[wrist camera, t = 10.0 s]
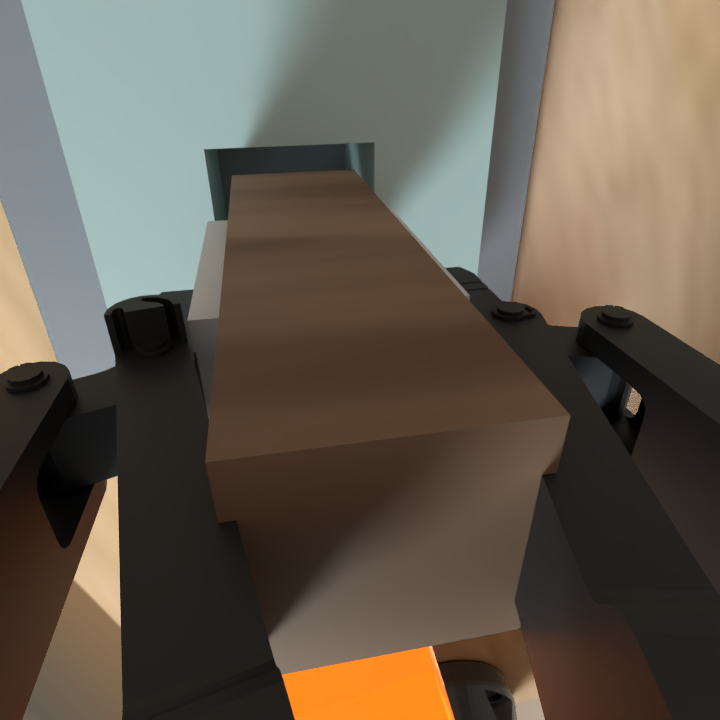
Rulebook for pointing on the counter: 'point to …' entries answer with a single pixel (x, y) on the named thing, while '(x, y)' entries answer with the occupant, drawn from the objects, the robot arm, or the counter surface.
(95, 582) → the counter surface
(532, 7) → the socket block
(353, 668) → the orange juice
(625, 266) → the counter surface
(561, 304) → the counter surface
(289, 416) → the peg
